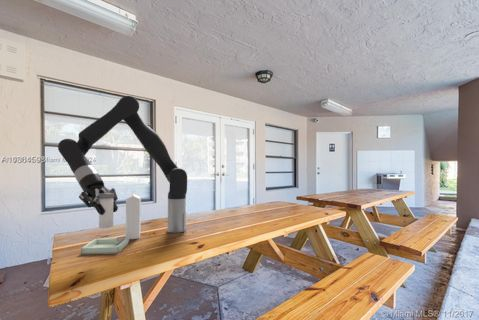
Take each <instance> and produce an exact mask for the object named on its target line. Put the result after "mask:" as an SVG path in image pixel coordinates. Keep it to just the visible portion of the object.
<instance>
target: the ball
mask: <svg viewBox="0 0 479 320" xmlns="http://www.w3.org/2000/svg"><path fill="white" fill-rule="evenodd" d="M116 238H117V239H116V240H115V243H116V244H117V245H119V244H120V243H121V242H122V241H123V239H122V238H123V237H121V236H120V237H116Z"/></svg>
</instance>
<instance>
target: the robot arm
mask: <svg viewBox="0 0 479 320" xmlns="http://www.w3.org/2000/svg"><path fill="white" fill-rule="evenodd" d="M139 109H140V103H139V100H138V99H137V98H135V97H134V96H133V95H132V96H131V95H125V96H123V97H121V98H120V99H119V100H118V101H117V103H116V104H115V105H114V106H113V107H112V109H110V110H108V112H106V113H105V114H104V115H102V116H101V117H100V118H98V119H97V120H95V121H93V122H92V123H91V124H89V125H88V126H87V127H85V128H84V129H82V130H81V131H80V132H78V141H76V140H74V139H72V138H64V139H62V140H60V141H59V143H58V145H57V150H58V152H59V153H60V155H61V156H62V158H63V159H64V161H65V162H66V163H67V164H68V166H69V168H70V170H71V172H72V173H73V175H74V178H75V180H76V181H77V183H78V185H79V186H80V188H81V190H82V191H81V193H80V194H79V195H78V198H79V199H80V200H81V201H82V202H83V204H85V205H86V206H87V207H88V208H94V209H95V210H96V212H97V213H98V215H99V214H100V215H103V214H104V213H105V210H104V208H103V207H102V205H101V204H99V203H100V202H99V194H100V193H114V197H113V213H116V212H117V211H118V210H119V207H118V205H117V204H116V202H117V201H118V195H117V192H116V188H111V189H109V188H107V187H106V186H105V182H104V181H103V179H102V177H101V176H100V174H99V173H98V171H97V170H96V168H95V167H94V166H93V165H92V163H91V161H90V160H89V158H87V156H86V154H88V152H89V150H90V149H91V148H92V147H93V145H94V144H95V143H97V142H99V140H101V139H102V138H104V136H105V135H107V134H108V133H109V132H110V131H111V130H112V129H114V127H115V126H116V125H118V124H119V123H120V122H121V121H124V122H125V124H127V126H128V127H129V128H130V129H131V131H132V133H133V134H134V135H135V137H136V138H137V140H138V141H139V143H140V144H141V145H142V147H143V148H144V149H145V151H146V152H147V154H148V155H149V156H150V158H152V159H153V161H154V162H155V164H156V165H158V167H159V168H160V170H161V171H162V172H163V175H164V176H165V178H166V180H167V181H168V183H169V190H168V193H167V232H168V233H173V234H174V233H175V234H177V233H178V234H179V233H183V232H186V229H187V211H186V199H187V197H186V196H187V194H188V193H187V192H188V174H187V171H185V169H183V168H181V167H180V168H179V167H178V166H177V165H176V163H175V162H174V161H173V160H172V158H171V157H170V155H169V151H168V149H167V147H166V145H165V143H164V141H163V140H162V138H161V137H160V136H159V134H158V133H157V132H156V131H155V130H154V129H152V128H151V127H150V126H149V125H147V124H146V123H145V122H144V121H143V119H142V117H141V116H140V114H139V113H138V112H139Z"/></svg>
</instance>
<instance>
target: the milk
mask: <svg viewBox="0 0 479 320" xmlns="http://www.w3.org/2000/svg"><path fill="white" fill-rule="evenodd" d="M141 205H142V197H141V196H139V195H137V194H135V191H132V195H129V196H128V197H127V198H126V199H125V238H129V240H135V239H136V240H137V239H140V238H141V225H142V224H141V218H142V217H141V216H142V214H141V212H142V211H141V209H142V208H141V207H142V206H141Z"/></svg>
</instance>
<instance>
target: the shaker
mask: <svg viewBox="0 0 479 320" xmlns="http://www.w3.org/2000/svg"><path fill="white" fill-rule="evenodd" d="M113 197H114V193H100V194H99V202H100V203H99V204H101V205H102V207H103V208H104V210H105V213H104V214H103V215H100V214H99V213H98V228H99V229H107V228H112V227H114V212H113Z"/></svg>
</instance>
